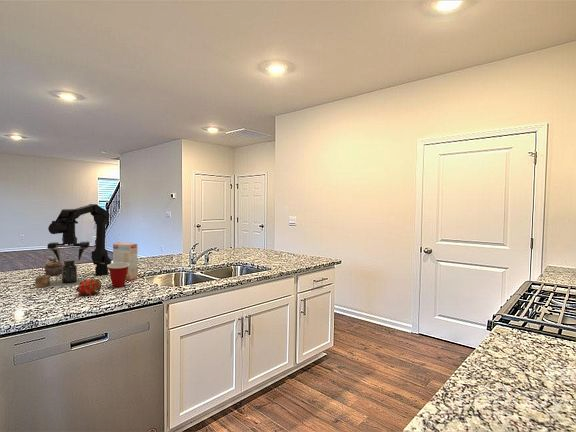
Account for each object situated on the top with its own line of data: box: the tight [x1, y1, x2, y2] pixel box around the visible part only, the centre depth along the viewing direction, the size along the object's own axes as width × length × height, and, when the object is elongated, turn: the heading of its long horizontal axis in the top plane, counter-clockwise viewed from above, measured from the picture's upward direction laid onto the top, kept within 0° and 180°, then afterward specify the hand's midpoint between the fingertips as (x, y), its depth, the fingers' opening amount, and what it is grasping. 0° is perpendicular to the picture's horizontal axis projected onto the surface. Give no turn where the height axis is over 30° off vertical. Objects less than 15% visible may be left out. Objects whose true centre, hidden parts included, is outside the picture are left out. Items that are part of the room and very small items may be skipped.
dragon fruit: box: [75, 277, 102, 296], centre depth 165 cm, size 8×8×12 cm
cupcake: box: [44, 257, 64, 277], centre depth 205 cm, size 10×10×10 cm
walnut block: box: [34, 274, 51, 289], centre depth 175 cm, size 5×5×5 cm
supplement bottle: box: [61, 259, 78, 284], centre depth 183 cm, size 7×7×12 cm
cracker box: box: [112, 242, 138, 281], centre depth 199 cm, size 14×6×21 cm, turn 65°
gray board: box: [37, 278, 85, 289], centre depth 181 cm, size 20×14×1 cm
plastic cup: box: [107, 262, 129, 288], centre depth 181 cm, size 11×11×12 cm
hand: (69, 260), depth 183 cm, fingers open, 9 cm apart
